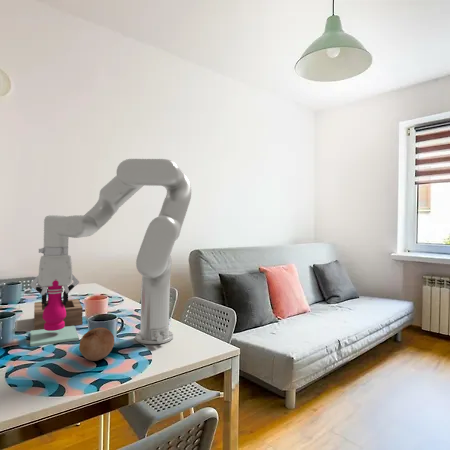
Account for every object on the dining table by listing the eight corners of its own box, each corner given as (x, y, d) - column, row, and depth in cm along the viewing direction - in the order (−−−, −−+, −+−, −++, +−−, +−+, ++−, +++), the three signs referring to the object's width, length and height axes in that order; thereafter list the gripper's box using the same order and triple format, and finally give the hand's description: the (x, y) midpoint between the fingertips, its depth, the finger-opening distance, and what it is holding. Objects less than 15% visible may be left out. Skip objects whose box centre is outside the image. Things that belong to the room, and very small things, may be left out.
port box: (82, 324, 128) (82, 307, 128) (33, 330, 121) (34, 312, 120) (77, 313, 142) (78, 298, 142) (34, 318, 135) (34, 302, 134)
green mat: (78, 339, 112) (78, 337, 112) (30, 346, 105) (30, 344, 105) (74, 327, 124) (74, 325, 124) (30, 333, 117) (30, 330, 117)
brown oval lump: (89, 374, 94) (78, 348, 90) (82, 354, 101) (71, 329, 97) (122, 356, 99) (113, 331, 94) (112, 338, 106) (103, 314, 101)
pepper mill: (56, 332, 111) (57, 271, 110) (37, 330, 112) (38, 270, 112) (70, 325, 118) (71, 268, 117) (52, 323, 119) (53, 267, 119)
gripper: (26, 253, 107) (25, 310, 107) (84, 252, 115) (83, 305, 116) (27, 251, 114) (25, 305, 114) (81, 250, 122) (80, 300, 122)
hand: (54, 304), depth 115 cm, fingers closed on pepper mill, 5 cm apart
